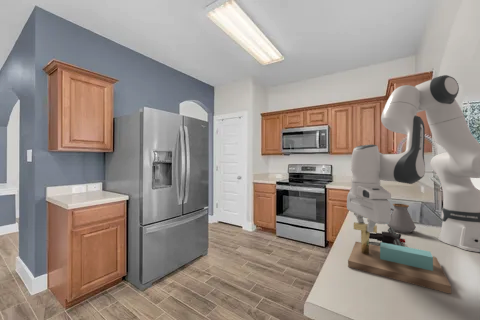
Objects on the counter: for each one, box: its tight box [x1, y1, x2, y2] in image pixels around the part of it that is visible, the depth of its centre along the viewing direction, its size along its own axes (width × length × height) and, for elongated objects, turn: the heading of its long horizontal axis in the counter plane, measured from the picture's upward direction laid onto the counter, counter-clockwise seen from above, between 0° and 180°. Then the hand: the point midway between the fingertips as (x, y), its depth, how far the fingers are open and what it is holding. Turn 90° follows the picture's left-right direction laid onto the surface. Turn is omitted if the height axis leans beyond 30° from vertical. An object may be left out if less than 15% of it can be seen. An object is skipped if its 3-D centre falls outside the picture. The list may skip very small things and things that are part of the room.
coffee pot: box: [386, 203, 416, 234], centre depth 108 cm, size 21×12×15 cm, turn 49°
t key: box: [353, 222, 378, 254], centre depth 76 cm, size 8×7×10 cm
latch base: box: [347, 241, 452, 294], centre depth 69 cm, size 24×20×2 cm
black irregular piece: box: [369, 227, 406, 247], centre depth 87 cm, size 5×20×15 cm
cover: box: [379, 241, 434, 271], centre depth 68 cm, size 13×5×4 cm, turn 55°
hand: (365, 229), depth 74 cm, fingers closed on t key, 3 cm apart
